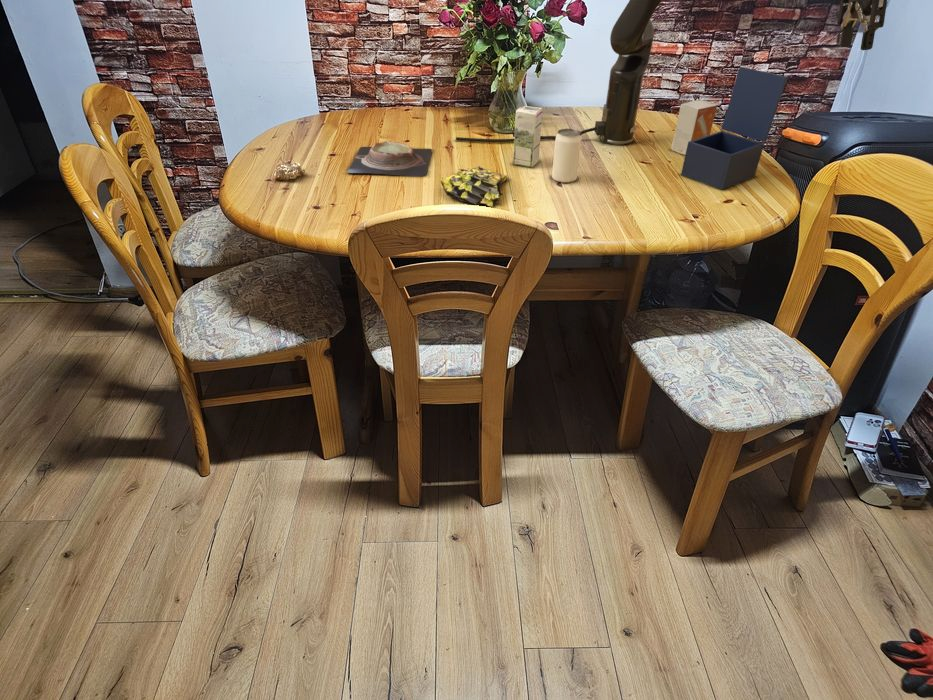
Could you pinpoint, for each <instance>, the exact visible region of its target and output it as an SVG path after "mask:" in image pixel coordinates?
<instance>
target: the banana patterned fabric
mask: <svg viewBox="0 0 933 700" xmlns="http://www.w3.org/2000/svg"><path fill="white" fill-rule="evenodd" d="M508 176H509V175H508V174H502V173H499V172H495V171H492V170H491V169H486V168H485V167H482V166H481V165H478V166H477V165H476V166H475V167H473V168H468V169H465V170H458V171H457V172H456V173H454V174H453V175H449V176H447V177H441V179H440V184H441V186H442V188H443V190H444V192H445V194H446V196H449V197H451V198H453V199H456V200H458V201H460V202H465V203H467V204H470V205H475V206H478V205H481V204H484V205H486V206H488V207H490V208H493V206H494V203H497V202H499V200H500V199H501V198H500V196H503V193H502V191H501V187H500V186H501V185H502V184H503V183H504V182H506V181H507V180H508Z"/></svg>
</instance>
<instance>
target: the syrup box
mask: <svg viewBox="0 0 933 700" xmlns="http://www.w3.org/2000/svg"><path fill="white" fill-rule="evenodd" d="M542 120H543V107H536V106H529V105H521V106H520V107H518V108H517V109H516V110H515V120H514V137H513V139H514V142H513V159H512V164H513V165H515V166H520V167H525V168H534V166H536V164H538V163H539V160H540V148H541V147H540V146H541V140H540V136H542V135H541V134H542V133H541V132H542V122H543V121H542Z"/></svg>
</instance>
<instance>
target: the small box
mask: <svg viewBox="0 0 933 700" xmlns="http://www.w3.org/2000/svg"><path fill="white" fill-rule="evenodd" d="M717 108H718V104H715V103H713V102H709V101H706V100H702V99H697V100H692V101H687V102H684V103H681V104H680V107H679V111H678V116H677V120H676V125H675V130H674V135H673V139H672V143H671V148H670V150H671V151H673V152H675V153H678V154H680V155H684V156H685V154H686V150H687V145H688V142H689V141H692V140H695V139H698V138H701V137H705V136H708V135H711V132H712V127H713V124H714V121H715V120H714V119H715V116H716V113H717Z"/></svg>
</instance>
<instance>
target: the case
mask: <svg viewBox="0 0 933 700" xmlns="http://www.w3.org/2000/svg"><path fill="white" fill-rule="evenodd" d="M764 146H765V142H762V141H758V140H755V139H752V138H748V137H745V136H742V135H738V134H735V133H731V132H728V131H725V130H720V131H717V132H714V133H710V135H708V136H705V137H701V138H698V139H695V140H692V141H689V142H688V145H687V150H686V154H685V155H684V159H683V163H682V168H681V173H680V175H681V176H683V177H685V178H689V179H691V180H694V181H697V182H700V183H702V184H705V185H708V186H711V187H713V188H716V189H719V190H721V191H723V190H726V189H728V188H731V187H733V186H735V185H738V184H740V183H742V182H745V181H748V180H750V179H752V178H755V177H756V174H757V169H758V167H759V163H760V159H761V156H762V153H763V150H764Z"/></svg>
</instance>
